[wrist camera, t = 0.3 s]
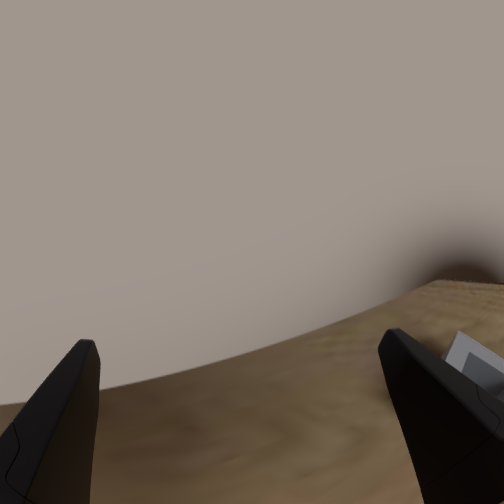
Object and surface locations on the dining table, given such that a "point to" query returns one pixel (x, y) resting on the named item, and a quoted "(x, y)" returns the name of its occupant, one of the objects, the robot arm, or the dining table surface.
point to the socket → (476, 363)
